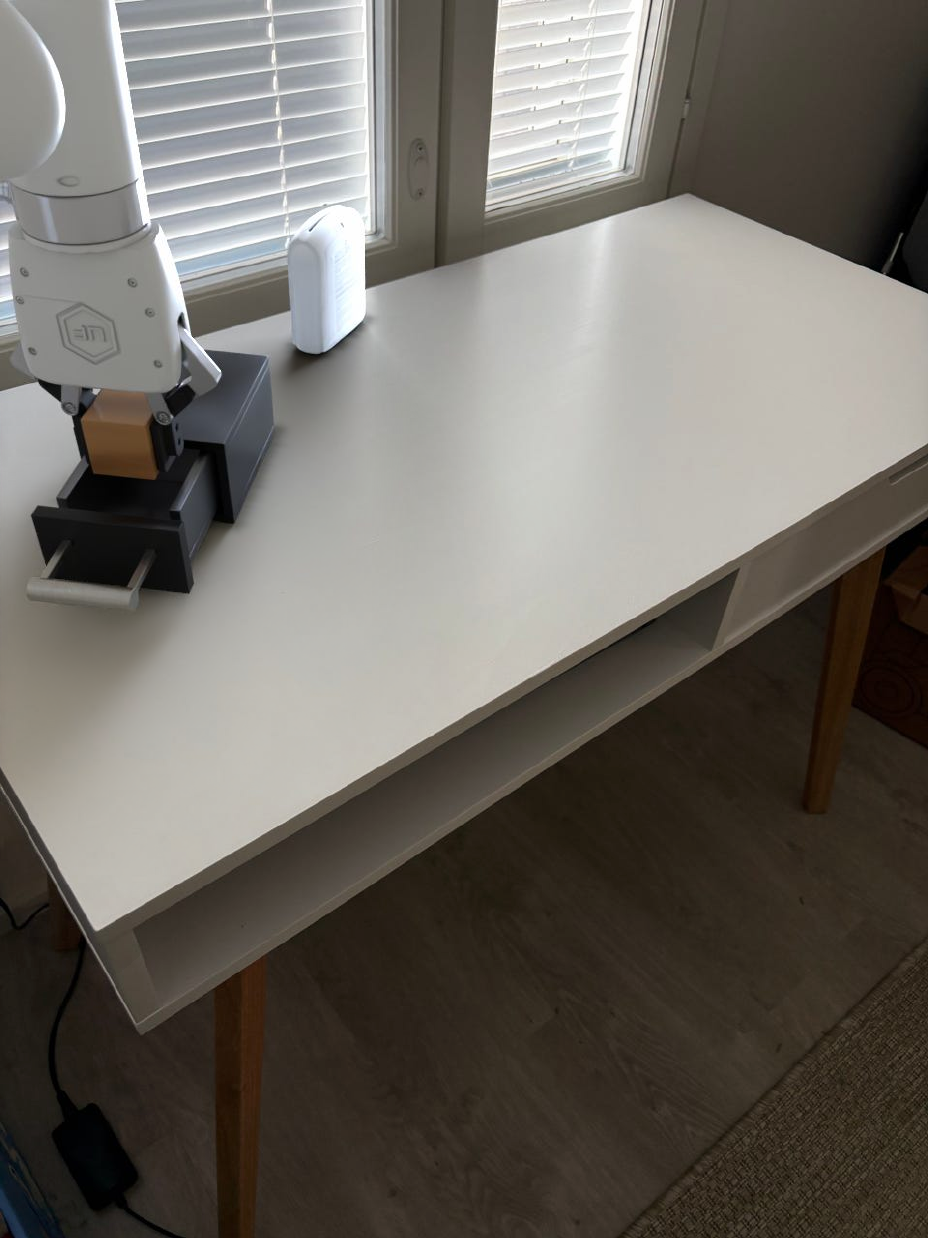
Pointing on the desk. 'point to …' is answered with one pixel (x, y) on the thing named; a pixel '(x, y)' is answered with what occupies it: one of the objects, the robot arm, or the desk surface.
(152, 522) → the drawer with bar handle
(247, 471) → the black drawer unit
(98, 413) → the tan wooden cube
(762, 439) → the desk surface
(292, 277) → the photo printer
